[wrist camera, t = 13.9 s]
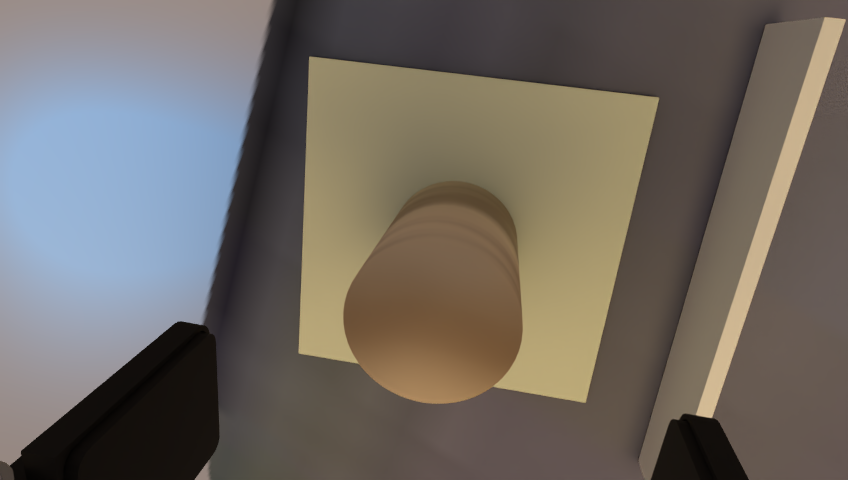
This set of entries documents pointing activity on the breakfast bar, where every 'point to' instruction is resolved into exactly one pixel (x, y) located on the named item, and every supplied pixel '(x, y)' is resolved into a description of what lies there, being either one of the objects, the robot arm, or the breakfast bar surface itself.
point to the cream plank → (743, 218)
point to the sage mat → (487, 168)
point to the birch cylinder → (439, 297)
